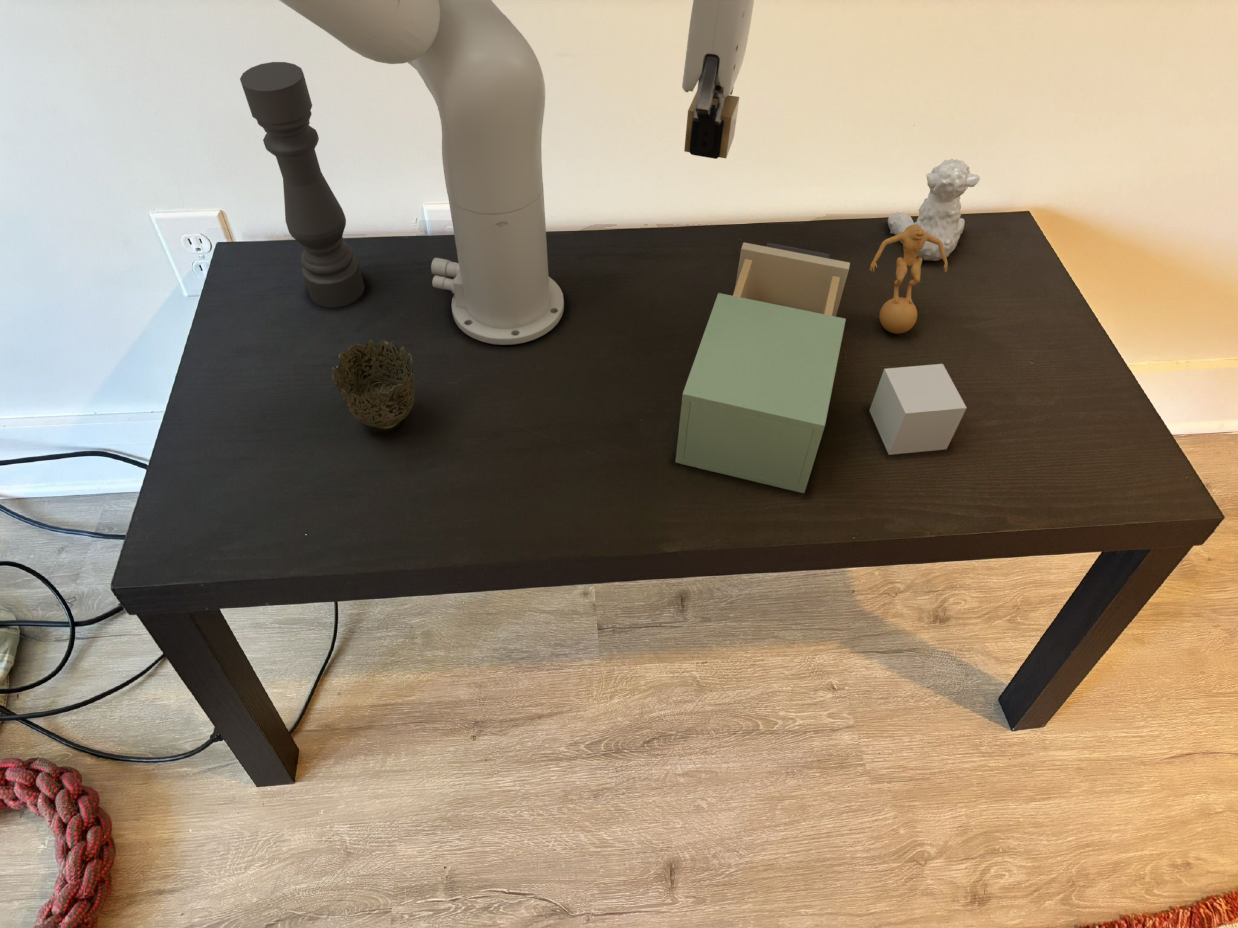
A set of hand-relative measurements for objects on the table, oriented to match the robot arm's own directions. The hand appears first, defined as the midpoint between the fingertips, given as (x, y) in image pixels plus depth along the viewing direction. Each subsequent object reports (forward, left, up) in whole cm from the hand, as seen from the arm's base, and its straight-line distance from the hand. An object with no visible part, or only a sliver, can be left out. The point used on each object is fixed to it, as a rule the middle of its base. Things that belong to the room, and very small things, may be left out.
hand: (709, 141), depth 91 cm
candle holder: (-38, -19, -15) cm, 45 cm away
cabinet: (+12, -25, -15) cm, 32 cm away
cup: (-23, -36, -15) cm, 46 cm away
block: (0, 0, 0) cm, 0 cm away
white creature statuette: (+27, +11, -15) cm, 33 cm away
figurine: (+24, -5, -15) cm, 29 cm away
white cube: (+27, -21, -15) cm, 37 cm away
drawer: (+12, -12, -14) cm, 22 cm away
